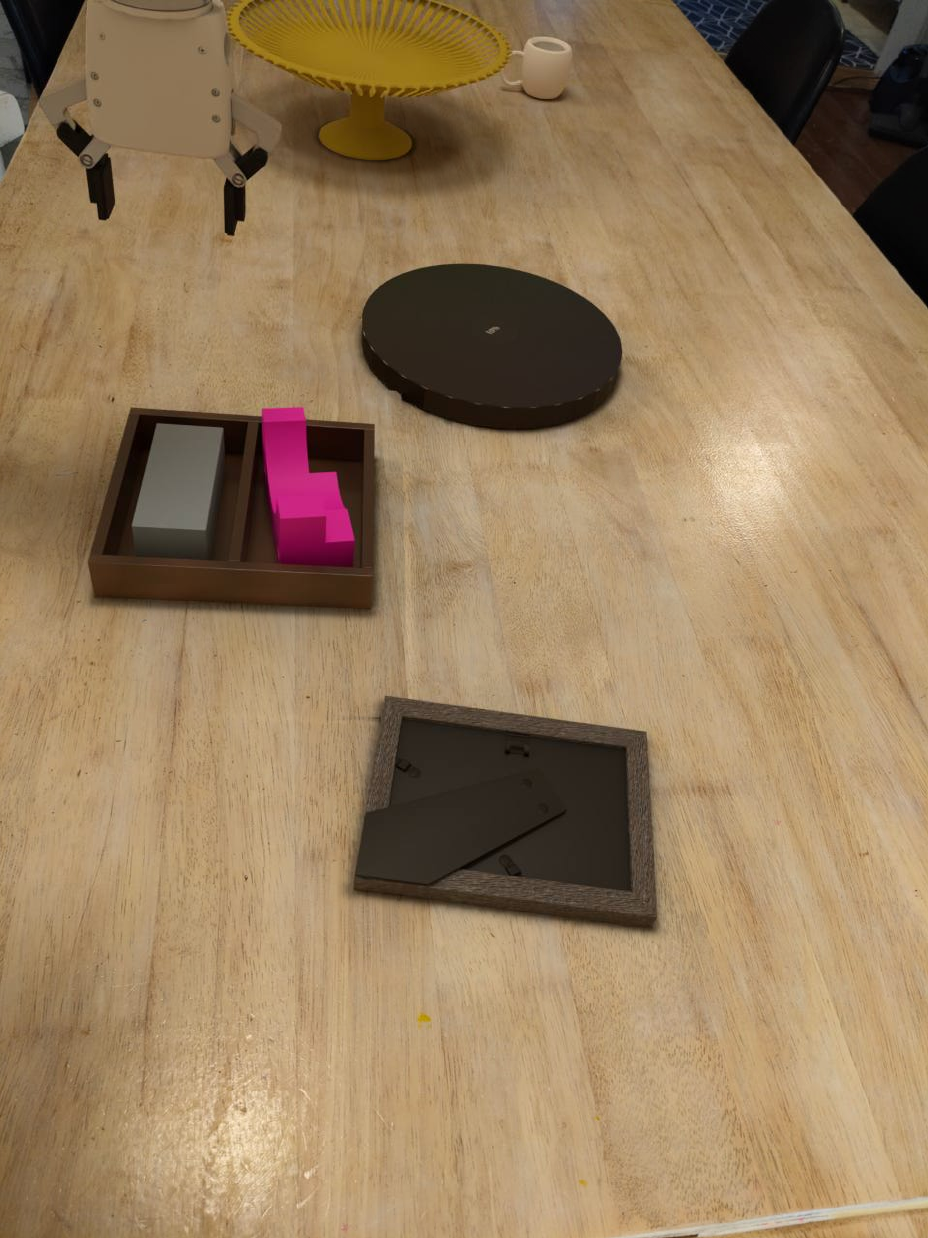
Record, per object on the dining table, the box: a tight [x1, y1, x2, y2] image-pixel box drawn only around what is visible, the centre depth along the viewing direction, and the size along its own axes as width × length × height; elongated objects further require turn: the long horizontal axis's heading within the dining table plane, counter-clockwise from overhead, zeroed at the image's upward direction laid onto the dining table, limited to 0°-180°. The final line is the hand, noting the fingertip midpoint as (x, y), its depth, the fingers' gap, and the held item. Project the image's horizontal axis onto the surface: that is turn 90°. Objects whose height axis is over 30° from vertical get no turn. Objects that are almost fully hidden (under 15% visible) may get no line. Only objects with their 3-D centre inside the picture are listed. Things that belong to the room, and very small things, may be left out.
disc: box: [360, 262, 624, 430], centre depth 118 cm, size 30×30×3 cm
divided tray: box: [87, 407, 376, 611], centre depth 93 cm, size 23×21×5 cm
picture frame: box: [353, 695, 658, 928], centre depth 76 cm, size 16×2×21 cm
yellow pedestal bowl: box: [225, 0, 513, 161], centre depth 149 cm, size 40×40×15 cm
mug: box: [499, 36, 573, 100], centre depth 173 cm, size 12×8×8 cm
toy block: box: [261, 406, 355, 567], centre depth 92 cm, size 15×6×8 cm, turn 13°
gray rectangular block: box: [132, 423, 226, 560], centre depth 91 cm, size 6×14×5 cm, turn 3°
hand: (169, 219), depth 81 cm, fingers open, 9 cm apart
